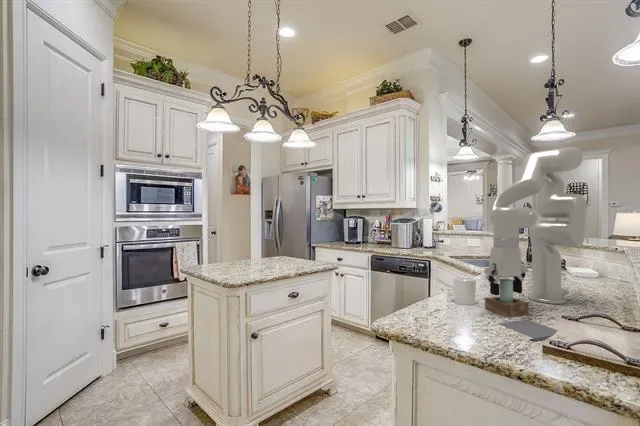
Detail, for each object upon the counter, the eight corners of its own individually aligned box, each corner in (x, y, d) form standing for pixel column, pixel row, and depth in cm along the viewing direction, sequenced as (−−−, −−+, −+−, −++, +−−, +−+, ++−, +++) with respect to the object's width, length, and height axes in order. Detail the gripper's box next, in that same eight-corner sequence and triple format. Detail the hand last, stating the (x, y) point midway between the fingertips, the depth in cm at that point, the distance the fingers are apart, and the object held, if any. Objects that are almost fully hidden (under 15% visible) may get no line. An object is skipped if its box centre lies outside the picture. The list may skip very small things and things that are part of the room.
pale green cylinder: (505, 309, 109) (505, 278, 109) (515, 313, 106) (515, 280, 106) (496, 310, 108) (496, 278, 108) (506, 314, 104) (506, 281, 104)
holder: (505, 309, 113) (505, 295, 113) (528, 317, 104) (528, 302, 104) (485, 312, 110) (485, 297, 110) (506, 320, 101) (506, 305, 101)
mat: (527, 322, 99) (527, 319, 99) (566, 337, 88) (566, 333, 88) (497, 326, 96) (497, 323, 96) (533, 342, 84) (533, 338, 84)
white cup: (471, 302, 123) (471, 276, 123) (479, 308, 115) (479, 280, 115) (450, 301, 123) (450, 276, 123) (457, 307, 115) (457, 280, 115)
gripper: (516, 241, 113) (516, 289, 113) (476, 243, 108) (477, 292, 108) (535, 243, 106) (535, 294, 106) (494, 245, 101) (494, 298, 101)
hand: (506, 293), depth 107 cm, fingers open, 9 cm apart
